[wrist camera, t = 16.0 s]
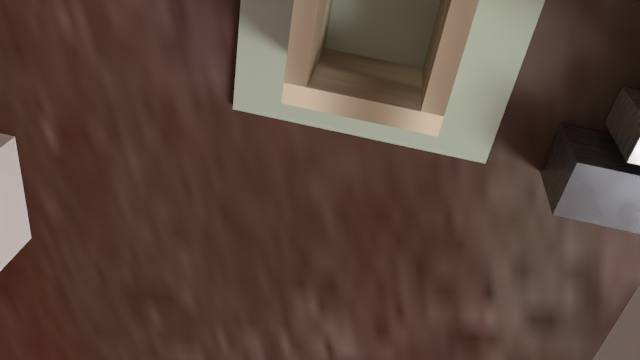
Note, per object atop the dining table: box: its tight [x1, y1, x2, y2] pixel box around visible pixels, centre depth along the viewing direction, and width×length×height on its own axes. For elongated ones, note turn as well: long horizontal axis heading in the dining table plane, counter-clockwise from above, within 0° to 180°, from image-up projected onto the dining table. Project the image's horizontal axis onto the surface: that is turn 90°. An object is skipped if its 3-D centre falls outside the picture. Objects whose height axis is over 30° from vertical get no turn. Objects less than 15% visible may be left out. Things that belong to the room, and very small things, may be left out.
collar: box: [281, 0, 479, 137], centre depth 25 cm, size 7×7×5 cm
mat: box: [233, 0, 545, 163], centre depth 28 cm, size 14×14×1 cm
